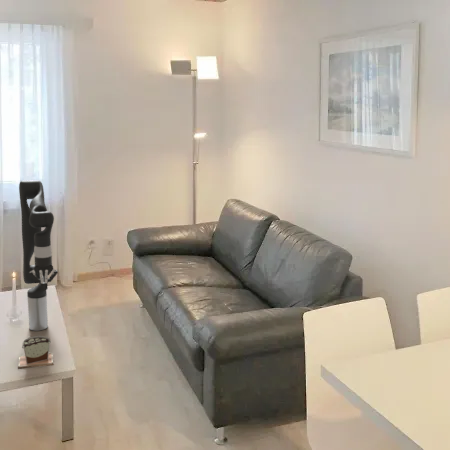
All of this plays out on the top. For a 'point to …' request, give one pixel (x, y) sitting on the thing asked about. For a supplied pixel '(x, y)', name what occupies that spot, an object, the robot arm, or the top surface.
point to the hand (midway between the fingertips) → (44, 290)
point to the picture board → (23, 363)
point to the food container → (36, 349)
